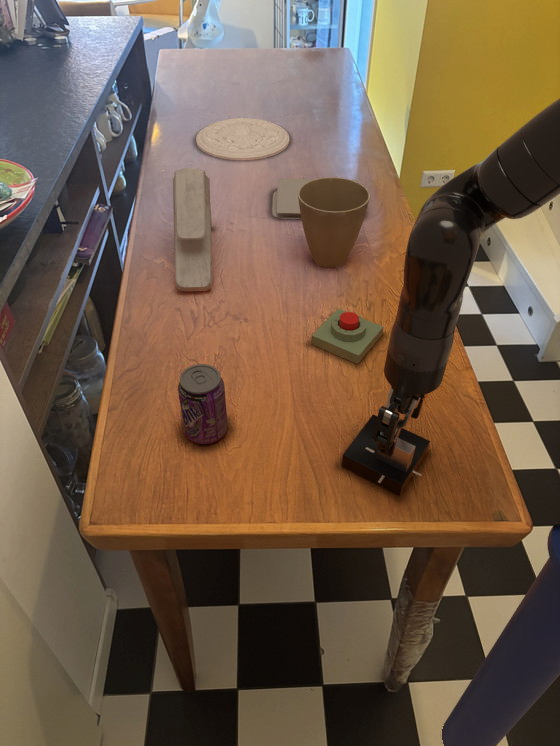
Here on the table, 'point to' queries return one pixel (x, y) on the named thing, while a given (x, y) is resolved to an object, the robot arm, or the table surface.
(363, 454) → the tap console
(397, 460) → the rotary knob
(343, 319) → the button
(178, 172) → the leaning slabs
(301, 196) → the plant pot
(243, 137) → the ceiling medallion
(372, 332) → the switch
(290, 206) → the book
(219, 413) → the beverage can
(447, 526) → the table surface
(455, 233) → the robot arm
